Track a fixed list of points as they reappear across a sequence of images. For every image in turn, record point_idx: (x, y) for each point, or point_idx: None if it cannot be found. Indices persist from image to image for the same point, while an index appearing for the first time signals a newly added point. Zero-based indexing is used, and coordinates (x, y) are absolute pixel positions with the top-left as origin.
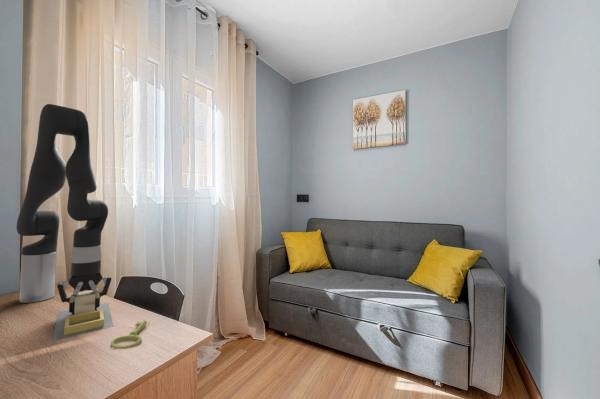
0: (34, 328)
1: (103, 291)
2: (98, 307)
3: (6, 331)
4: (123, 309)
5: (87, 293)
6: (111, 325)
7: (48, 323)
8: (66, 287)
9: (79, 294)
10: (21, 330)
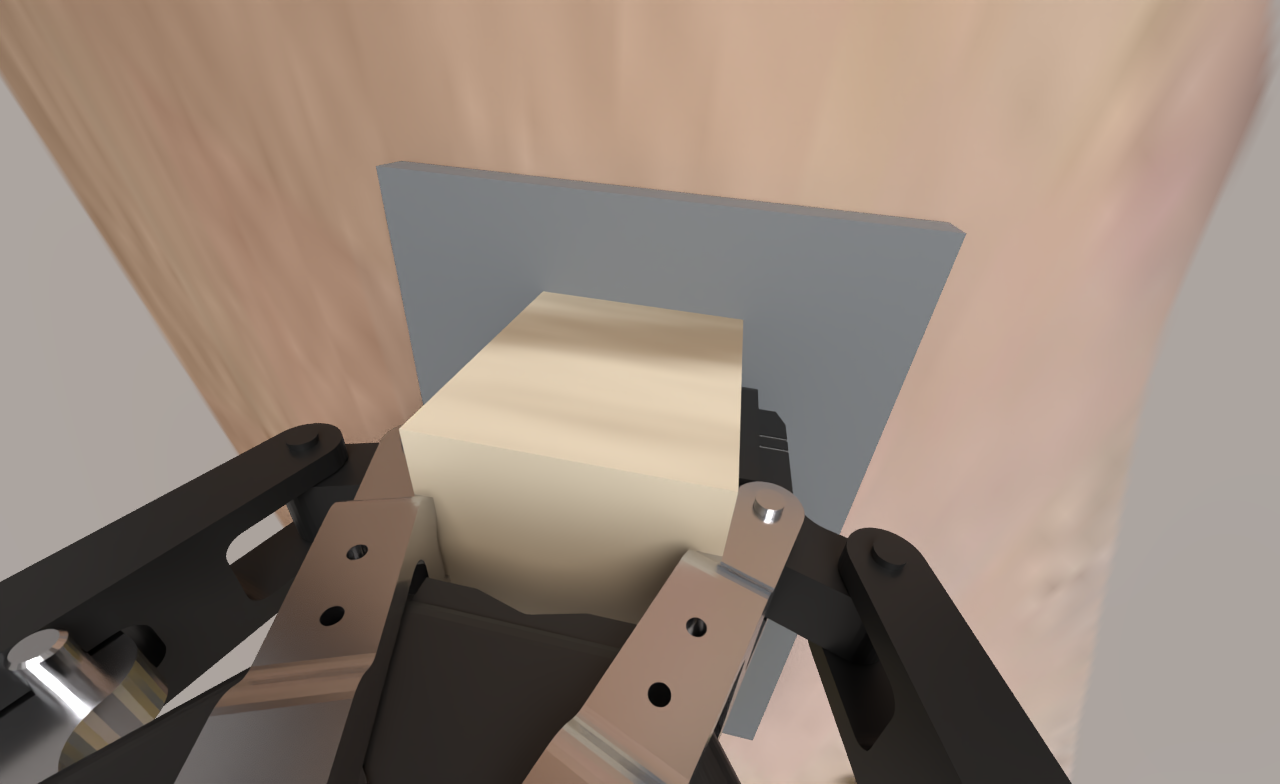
0: (319, 386)
1: (828, 684)
2: (785, 353)
3: (146, 301)
4: (990, 494)
5: (593, 579)
6: (745, 730)
7: (382, 353)
8: (148, 718)
9: (479, 545)
10: (246, 359)
